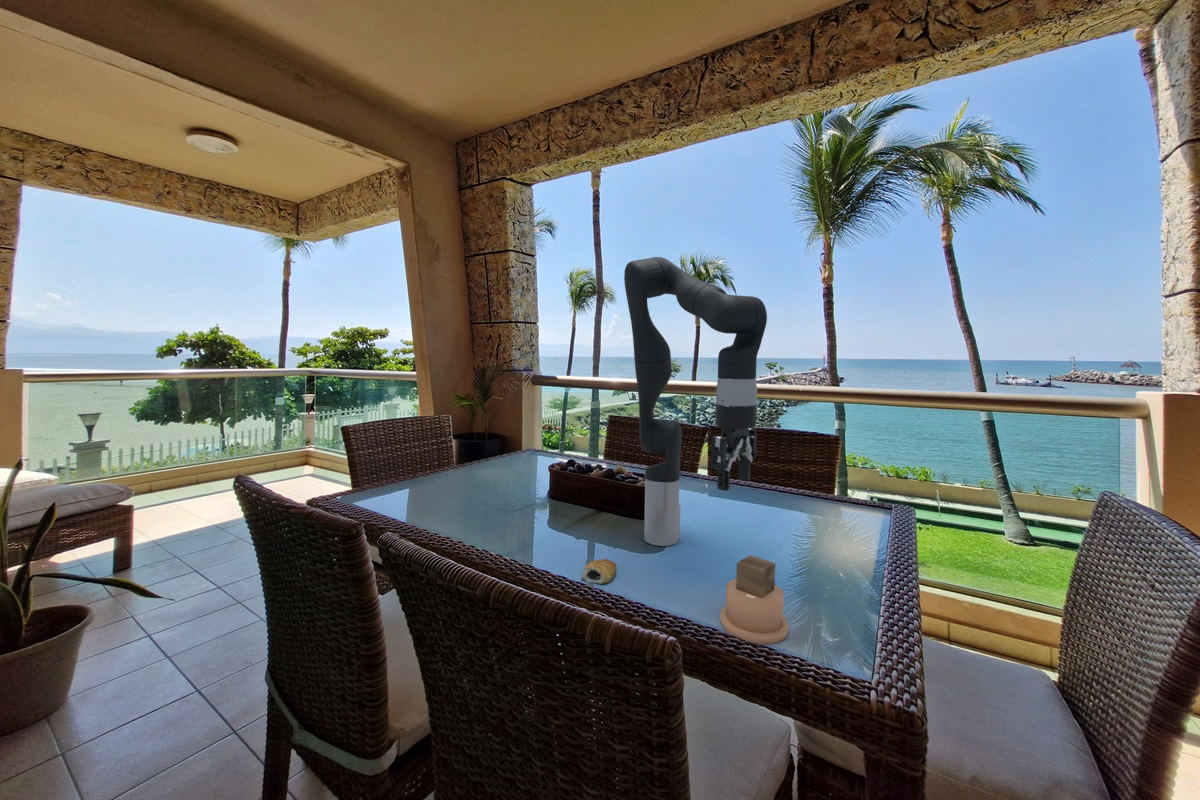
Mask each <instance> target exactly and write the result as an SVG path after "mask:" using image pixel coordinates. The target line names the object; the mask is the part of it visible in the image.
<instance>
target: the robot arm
mask: <svg viewBox="0 0 1200 800" xmlns="http://www.w3.org/2000/svg"><path fill="white" fill-rule="evenodd" d="M623 276H624V279H623V280H624V282H623V283H624V288H625V294H626V301H627V307H628V313H629V318H630V323H631V325H630V326H631V332H632V343H633V357H634V358H633V359H634V368H635V377H636V386H637V393H638V396H637V397H638V413H639V416H638V417H639V423H638V424H639V442H640V446H641V450H642V451H643V452H644V453H648V454H658V455H659V454H660V455H666V458H665V460H663V461H662V462H659V463H657V464H652V465H649V466H647V467H646V468H645V472H644V473H645V475H644V477H645V478H644V528H643V529H644V535H643V537H644V538H643V539H644V541H645V542H646V543H648V544H650V545H652V546H659V547H670V546H674V545H676V544H678V542H679V540H680V539H681V505H680V471H681V469H680V468H681V453H682V452H681V448H682V440H683V439H682V437H683V435H682V434H683V433H682V426H681V423H680V421H678V420H672V419H670V420H669V419H655V417H654V410H655V406H656V404H657V402H658V400H659V398H660V396H661V394H662V393H663V391H664V390H665V388H666V387H667V385H668V383H669V381H670V379H671V376H672V356H671V355H672V354H671V349H670V346H669V343H668V342H667V341H666V339H665V338H664V336H663V334H661V332H660V330H658V328H657V326H655V324H654V322H653V321H652V318H651V316H650V310H649V306H648V299H651V298H656V297H657V298H658V297H660V296H664V295H672V296H675V297H676V298H675V299H676V301H677V303H678V304H679V306H680V307H681V308H682V309H683V310H684V311H685V312H687V313H689V314H691V315H693V316H695V317H697V318H700V319H702V321H704V322H705V324H706V325H707V326H709V327H710V329H712V330H714V331H717V332H718V333H722V334H728V335H729V334H735V337H734V340H733V343H732V344H731V345H729V346H726V347H723V348H721V349H720V351H719V353H718V355H717V356H718V358H717V383H716V389H715V426H716V427H718V428H720V429H721V434H720V436H718V435H713V436H712V438H711V449H710V450H711V451H710V468H711V469H715V470H717V482H716V483H717V489H718V490H719V491H723V492H724V491H725V492H727V491H730V488H731V468H732V465H733V462H735V461H736V460H737V459H738V464H737V465H738V470H737V478H738V480H739V481H742V482H749V481H751V463H752V462H753V460H754V459H755V458H756V457H757V450H758V449H757V445H758V444H757V438H758V437H757V436H758V435H757V433H758V432H757V428H755V427H756V426H757V408H758V407H757V405H758V386H757V361H758V359H757V357H758V353H759V351H760V349H761V348H760V347H761V344H762V340H763V338H764V333H765V331H766V326H767V322H768V314H767V308H766V305H765V303H764V302H763V300H761V299H760V298H758V297H756V296H750V295H738V294H737V295H736V294H728V293H727V292H726V291H725V290H724V289H723V288H722V287H720V286H717V285H715V284H712V283H710V282H707V281H705V280H701V279H699V278H696V277H694V276H692V275H690V274H689V273H688V272H686V271H685V270H683V269H682V268H680V267H679V266H677V265H676V264H675V263H673V262H672V261H670V260H668V259H667V258H665V257H661V256H654V257H649V258H648V257H647V258H643V259H636V260H632V261H629V262H628V263H626V265H625V268H624V273H623ZM753 458H754V459H753Z"/></svg>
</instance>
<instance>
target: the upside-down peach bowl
mask: <svg viewBox="0 0 1200 800" xmlns="http://www.w3.org/2000/svg"><path fill="white" fill-rule="evenodd" d="M725 598H726V600H725V602H726V603H725V604H726V605H725V606H724V607H722V609H721V610H720V613H719V614H720V615H719V619H720V625H721V627H722V628H723V629H724V631H725V632H726V633H728V634H729V635H730V636H732V635H733V637H734V636H735V637H734V638H736V637H737V638H736V639H738V638H740V639H739V640H741V639H742V640H741V641H743V640H745V641H744V642H746V641H749V642H748V643H750V642H752V643H751V644H755V643H758V644H757V645H774V644H777V643H780V642H783V641H784V640H786V638H788V636H789V633H790V631H789V629H790V624H789V621H788V619H787V617H786V616H785V615H784V605H785V603H784V602H785V601H784V599H785V592H784V590H783V589H782V588H781V587H780V586H779V585H778V584H775V585H774V590H773V591H771V592H770V593H769V594H767V595H766V596H764V597H763V598H759V597H756V596H754V595H751V594H748V593H746V592H743V591H740V590H738V589H736V578H732V579H731V580H729V581H728V582H727V583H726V597H725Z"/></svg>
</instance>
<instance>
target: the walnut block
mask: <svg viewBox="0 0 1200 800" xmlns="http://www.w3.org/2000/svg"><path fill="white" fill-rule="evenodd" d="M735 577H736V589H738V590H740V591H743V592H746V593H748V594H751V595H754V596H756V597H759V598H763V597H764V596H766V595H767V594H769V593H770V592H771V591H773V590H774V585H775V582H776V580H775V579H776V562H774V561H769V560H767V559H763V558H760V557H757V556H755V555H750V554H749V555H747V556H746V557H744V558H743V559H741V560H738V561H737V562H736V576H735Z"/></svg>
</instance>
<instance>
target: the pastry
mask: <svg viewBox="0 0 1200 800" xmlns="http://www.w3.org/2000/svg"><path fill="white" fill-rule="evenodd" d="M616 571H617V564H616V563H615V561H612V560H609V559H607V558H602V559H601V558H600V559H596V560H591V561H590V562H589V563H587V564H586V565H585V566H584V568H583V571H582V573H581V579H583V581H585V582H587V583H593V584H599V585H603V584H608V583H610V582H611V581H612V580H613V579H614V577H615V575H616Z"/></svg>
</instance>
